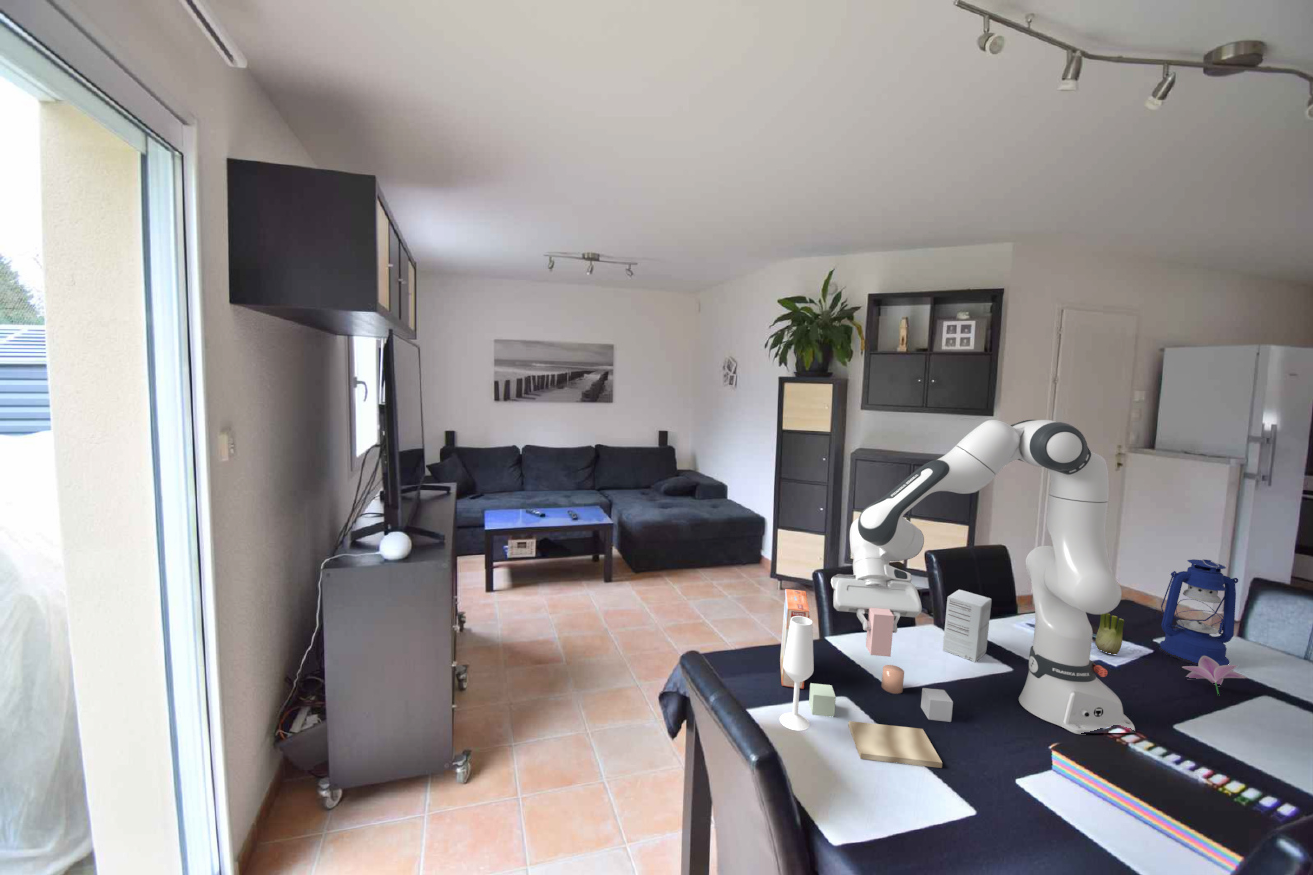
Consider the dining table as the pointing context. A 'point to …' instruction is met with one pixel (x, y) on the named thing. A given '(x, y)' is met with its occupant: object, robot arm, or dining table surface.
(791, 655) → the champagne flute
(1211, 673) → the lily
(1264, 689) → the dining table surface
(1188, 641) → the lantern
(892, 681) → the terracotta cylinder
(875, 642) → the rose block
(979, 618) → the supplement box
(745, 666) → the dining table surface
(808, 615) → the cracker box
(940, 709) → the grey plastic block
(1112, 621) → the fennel bulb
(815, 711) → the sage painted block
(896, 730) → the pine board
